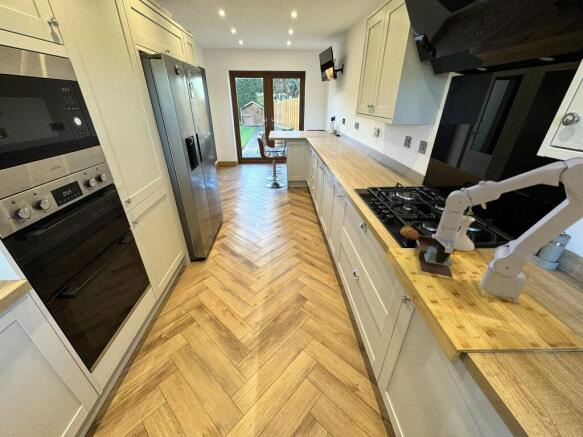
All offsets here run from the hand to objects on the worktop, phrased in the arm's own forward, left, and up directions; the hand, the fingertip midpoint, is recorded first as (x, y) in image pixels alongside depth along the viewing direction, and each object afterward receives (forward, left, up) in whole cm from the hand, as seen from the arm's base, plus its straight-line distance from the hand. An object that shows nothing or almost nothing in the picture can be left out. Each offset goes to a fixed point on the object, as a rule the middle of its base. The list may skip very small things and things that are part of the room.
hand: (437, 259), depth 85 cm
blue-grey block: (0, 0, -1) cm, 1 cm away
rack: (0, -5, -5) cm, 7 cm away
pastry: (+6, -24, -5) cm, 25 cm away
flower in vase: (-13, -22, -5) cm, 26 cm away
